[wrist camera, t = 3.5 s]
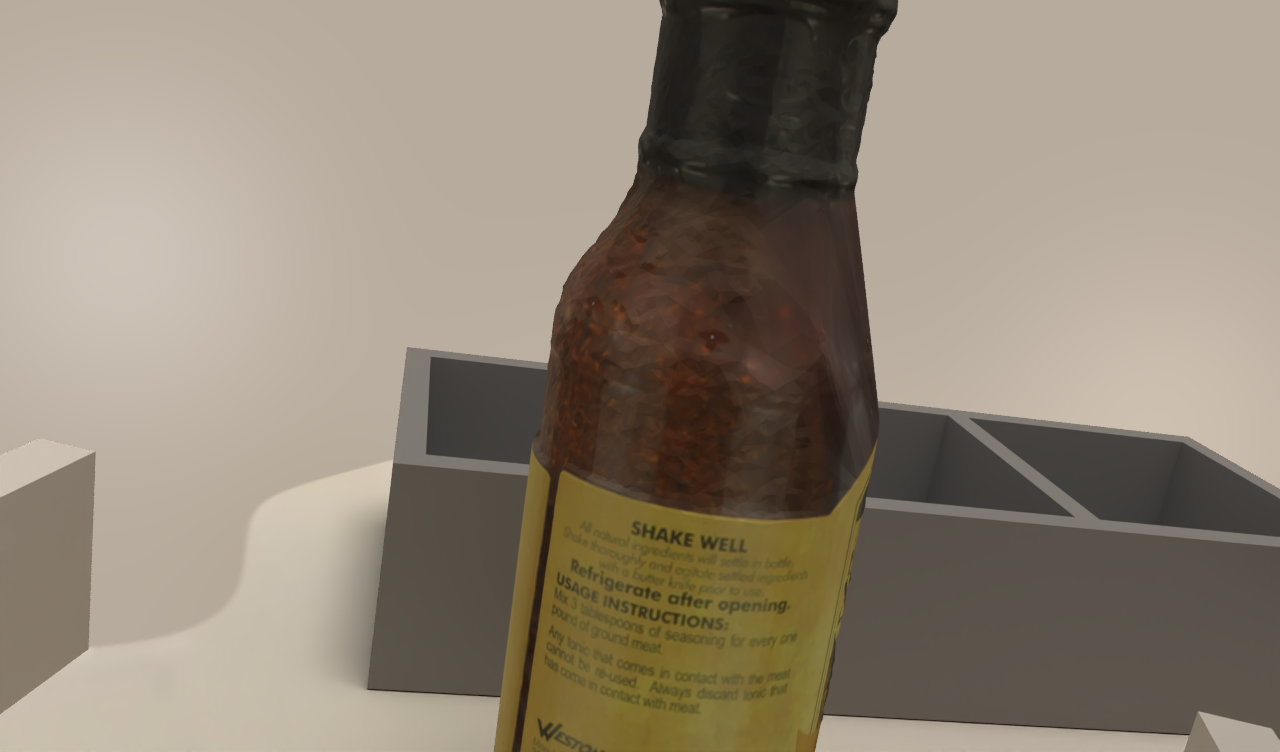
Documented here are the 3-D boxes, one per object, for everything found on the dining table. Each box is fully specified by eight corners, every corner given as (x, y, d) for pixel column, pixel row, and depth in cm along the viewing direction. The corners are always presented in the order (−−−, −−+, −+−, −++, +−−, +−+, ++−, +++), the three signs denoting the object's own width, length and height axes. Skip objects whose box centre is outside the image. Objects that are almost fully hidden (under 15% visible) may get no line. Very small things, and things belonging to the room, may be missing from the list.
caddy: (1135, 581, 47) (1182, 433, 45) (1330, 742, 36) (1401, 558, 35) (387, 517, 41) (407, 343, 39) (367, 688, 30) (393, 463, 29)
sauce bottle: (827, 999, 23) (1101, -40, 17) (547, 1103, 20) (776, -135, 14) (661, 797, 28) (831, -48, 23) (419, 851, 25) (550, -119, 19)
